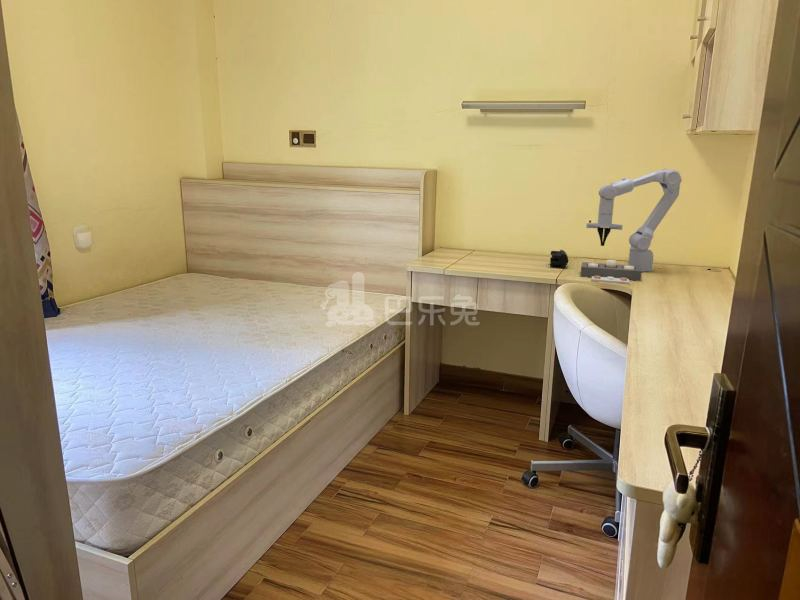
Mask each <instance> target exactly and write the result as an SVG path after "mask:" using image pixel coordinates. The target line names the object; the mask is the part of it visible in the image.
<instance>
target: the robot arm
mask: <svg viewBox="0 0 800 600" xmlns="http://www.w3.org/2000/svg"><path fill="white" fill-rule="evenodd" d="M682 179H683V178H682V175H681V174H680V172H679V171H678V170H676V169H668V168H664V169H661V170H659V169H658V170H655V171H652V172H649V173H647V174H645V175H642V176H639V177H636V178H634V179H630V178H626V177H622V178H621V180H618V181H616V182H613V181H612V182H610V184H604V185H602V186H601V187H599V190H598V196H599V205H598V215H597V222H595V223H593V222H586V229H596V230H597V233H598V237H599V241H600V246H601V247H604V246H605V243H606V240H607V238H608V236H609V234H610V233H611V230H619V231H622V230H623V227H624V226H623V224H616V223H615V224H614V223H612V222H613V212H614V206H615V205H614V204H615V198H616V197H618V196H622V195H624V194H627V193H628V194H629V193H630V192H632V191H633V190H634V189H635V188H636V187H639V186H644V185H647V184H650V183H652V182H655V183H658V184H659V185H660V186H661V187H662V191H663V195H662V196H661V198H660V199H659V201H658V202H657V204H656V205H655V207H654V208H653V209H652V211H651V212H650V214H649V216H648V217H647V219H646V220H645V221H644V223H643V225H641V226H640V227H639V228H638V229H637V230H636V231H635V232H634V233H632V234H631V235H630V237H629V238H628V242H629V243H628V244H629V245H630V247H629V253H628V264H627V265H632V266H640V268H641V271H642V272H641V273H643V272H654V270H653V264H654V263H653V262H654V252H653V251H652V250H651V249H649V248H650V247H651V244H652V240H653V238H654V232H655V231H656V229H657V228H658V226H659V225H660V223H661V222H662V221H663V220H664V218H665V216H666V215H667V213H668V212H669V211H670V209H671V207H672V206H673V205H674V203H675V202H676V201H677V199H678V197H679V195H680V189H681V188H680V187H681V184H682Z"/></svg>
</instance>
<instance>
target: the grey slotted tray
mask: <svg viewBox="0 0 800 600" xmlns="http://www.w3.org/2000/svg"><path fill="white" fill-rule="evenodd" d="M588 263H590V262H584V261H582V262H581V266H580V267H581V268H580V277H581V276H582V277H583V278H592V276H595V275H597V276H601V277H608V276H611V277H614V278H621V277H624V278H627V279H629V281H635V282H637V281H638V282H641V279H642V273H643V272H642V271H641V268H640V266H634V269H624V266H625V265H626V264H617V263H616V268H609V267H606V263H603V262H599V263H598V262H596V263H597V264H598V267H595V266H588ZM630 266H632V265H630ZM582 277H581V278H582Z"/></svg>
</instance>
